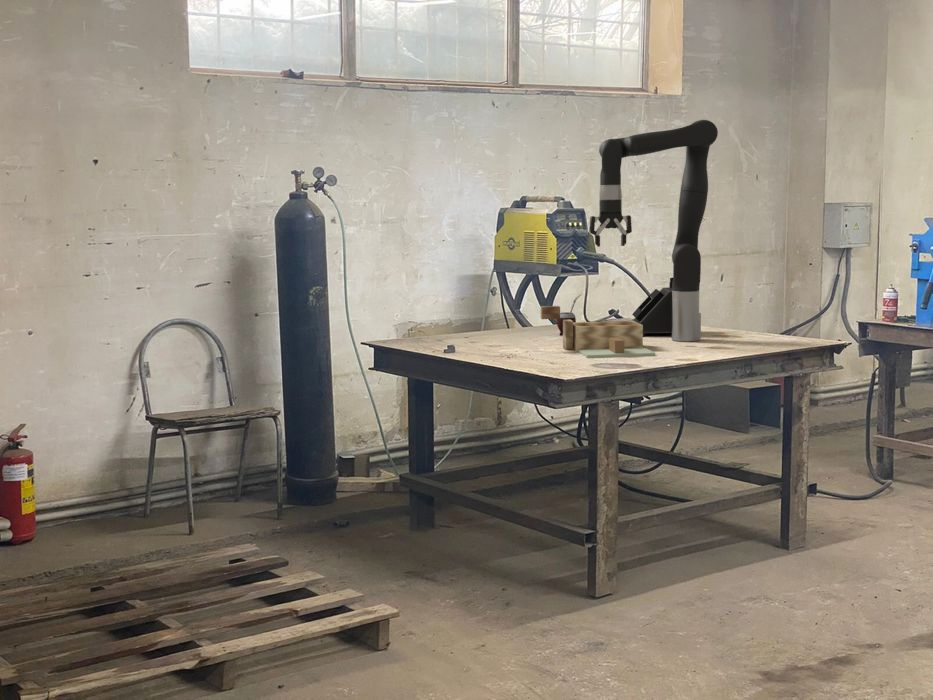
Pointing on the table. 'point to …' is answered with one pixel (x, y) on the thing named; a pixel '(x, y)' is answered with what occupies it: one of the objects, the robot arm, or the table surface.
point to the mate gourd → (566, 317)
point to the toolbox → (601, 334)
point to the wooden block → (550, 312)
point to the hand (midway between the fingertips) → (610, 246)
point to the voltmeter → (656, 311)
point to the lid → (616, 350)
